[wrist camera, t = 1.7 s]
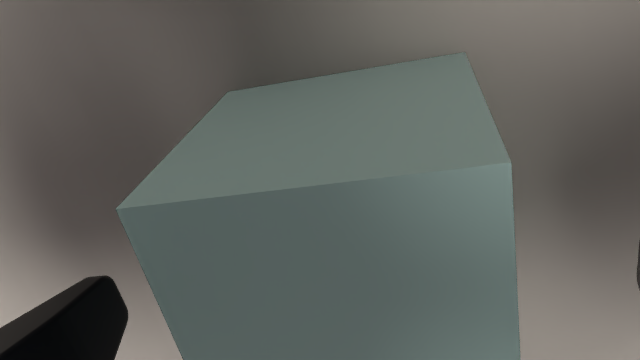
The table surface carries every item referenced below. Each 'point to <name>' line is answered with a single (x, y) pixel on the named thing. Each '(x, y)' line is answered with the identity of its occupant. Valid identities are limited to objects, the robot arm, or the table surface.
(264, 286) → the sage cube
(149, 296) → the table surface
